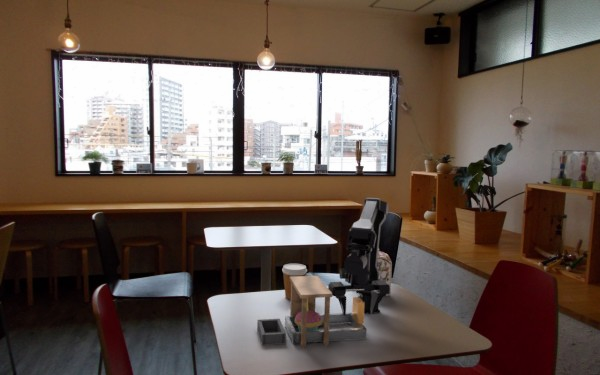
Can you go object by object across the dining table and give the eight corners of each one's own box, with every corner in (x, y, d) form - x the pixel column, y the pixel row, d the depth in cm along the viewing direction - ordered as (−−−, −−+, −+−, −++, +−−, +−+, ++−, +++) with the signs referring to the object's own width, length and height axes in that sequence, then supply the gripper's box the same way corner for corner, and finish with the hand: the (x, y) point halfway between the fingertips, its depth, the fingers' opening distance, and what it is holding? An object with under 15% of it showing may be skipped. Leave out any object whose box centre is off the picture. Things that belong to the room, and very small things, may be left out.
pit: (279, 327, 136) (279, 318, 136) (285, 343, 126) (285, 333, 125) (257, 329, 135) (257, 319, 134) (261, 345, 124) (262, 335, 124)
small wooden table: (315, 321, 142) (317, 275, 141) (330, 345, 125) (332, 293, 124) (288, 323, 140) (289, 276, 139) (299, 347, 123) (301, 294, 122)
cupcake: (290, 330, 135) (291, 292, 134) (314, 326, 138) (315, 290, 137) (300, 341, 127) (302, 302, 126) (326, 337, 130) (328, 299, 129)
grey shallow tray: (353, 321, 143) (354, 292, 142) (367, 338, 130) (369, 307, 129) (285, 325, 138) (286, 295, 137) (293, 343, 125) (294, 311, 124)
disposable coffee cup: (287, 303, 158) (289, 271, 157) (277, 294, 166) (278, 264, 165) (310, 299, 162) (311, 268, 161) (299, 291, 171) (300, 262, 169)
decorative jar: (377, 286, 180) (379, 244, 179) (391, 296, 169) (393, 251, 168) (351, 288, 177) (353, 245, 175) (363, 298, 166) (365, 252, 164)
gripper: (378, 258, 144) (375, 303, 145) (324, 259, 140) (322, 306, 141) (392, 268, 133) (389, 316, 135) (334, 269, 129) (332, 320, 131)
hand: (358, 314), depth 136 cm, fingers open, 9 cm apart
